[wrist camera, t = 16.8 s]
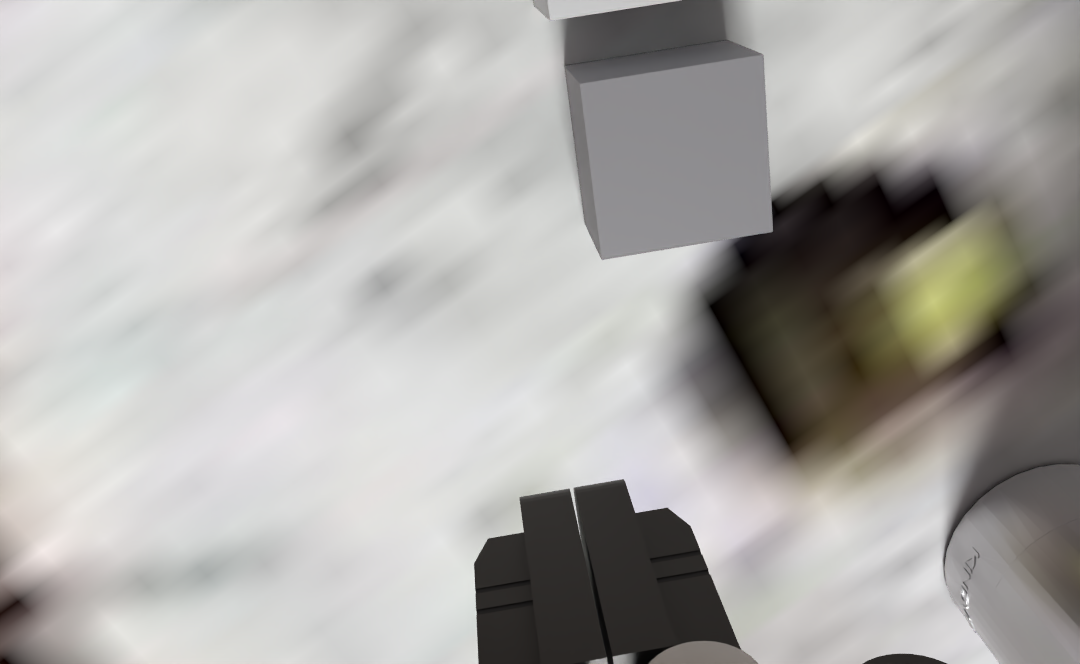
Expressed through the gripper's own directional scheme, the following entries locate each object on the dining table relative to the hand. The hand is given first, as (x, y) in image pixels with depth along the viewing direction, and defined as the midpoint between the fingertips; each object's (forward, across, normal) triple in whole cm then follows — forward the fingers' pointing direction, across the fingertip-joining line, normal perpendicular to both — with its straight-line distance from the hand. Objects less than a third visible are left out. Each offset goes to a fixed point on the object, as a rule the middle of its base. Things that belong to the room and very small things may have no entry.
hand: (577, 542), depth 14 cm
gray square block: (+25, -6, 0) cm, 26 cm away
